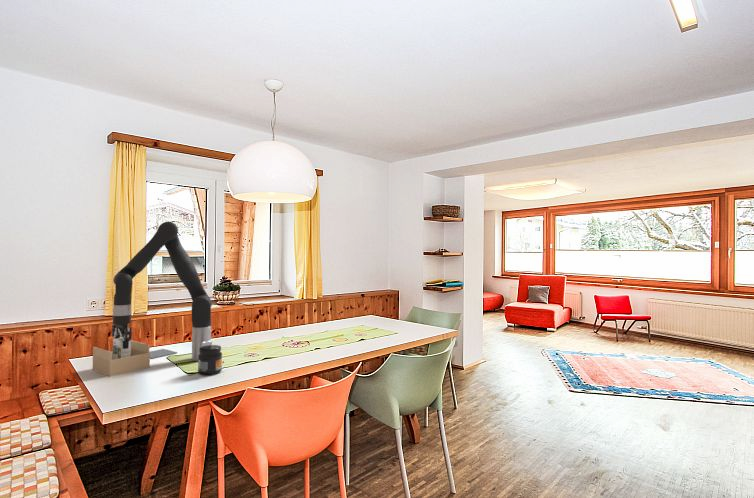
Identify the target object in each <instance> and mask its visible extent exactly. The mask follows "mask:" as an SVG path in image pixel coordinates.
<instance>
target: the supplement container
mask: <svg viewBox="0 0 754 498" xmlns="http://www.w3.org/2000/svg"><path fill="white" fill-rule="evenodd" d="M222 364H223V353H222V346H221V345H218V344H212V345H207V346H202V347H200V348H199V355H198V361H197V373H198V375H200V376H213V375H217V374H220V373H221V372H222V370H223V365H222Z"/></svg>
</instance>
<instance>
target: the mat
mask: <svg viewBox="0 0 754 498" xmlns="http://www.w3.org/2000/svg"><path fill="white" fill-rule="evenodd" d="M149 353H150V360H151V359H152V360H153V359H157V358H162V357H167V356H172V355H176V353H177V354H178V351H173V350H169V349H167V348H166V349H165V348H160V349H157V350H156V349H155V350H151V351H150V350H149ZM171 354H172V355H171Z"/></svg>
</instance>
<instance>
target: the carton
mask: <svg viewBox="0 0 754 498" xmlns="http://www.w3.org/2000/svg"><path fill="white" fill-rule="evenodd" d="M92 351H93V352H92V371H94V370H95V372H97V373H101V374H103V375H105V376H108V377H113V376H116V375H122V374H125V373H129V372H135V371H137V370H138V371H139V370H142V369H146V368H150V364H151V363H150V362H151V361H150V360H151V359H150V353H149V352H150V344H147V343H144V342H140V341H136V340H132V339H131V356H130V357H125V358H120V359H115V360H113V350H112V351H111V350H108V349H107V350H106V349H104V348H100V347H97V346H92Z"/></svg>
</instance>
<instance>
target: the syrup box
mask: <svg viewBox="0 0 754 498" xmlns="http://www.w3.org/2000/svg"><path fill="white" fill-rule="evenodd" d="M131 340H132V339H131ZM131 340H129V346H128V348H127V349H123V339H122V337H120V338H116V339H114V338H113V339H112V351H113V360H115V359H120V358H125V357H130V356H131Z"/></svg>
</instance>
